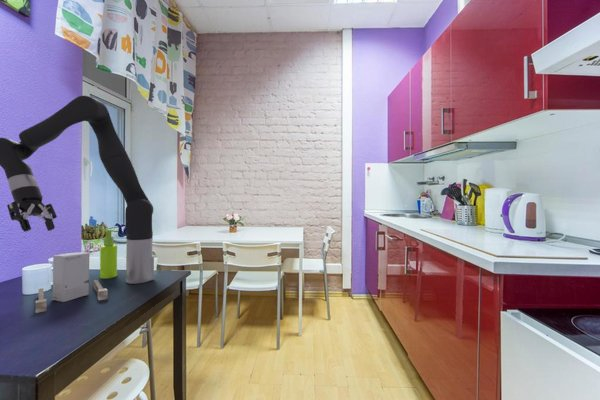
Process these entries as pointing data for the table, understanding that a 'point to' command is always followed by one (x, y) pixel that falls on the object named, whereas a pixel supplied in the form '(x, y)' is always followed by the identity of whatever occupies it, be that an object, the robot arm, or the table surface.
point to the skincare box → (70, 276)
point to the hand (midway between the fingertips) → (40, 230)
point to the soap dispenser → (108, 256)
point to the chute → (42, 303)
